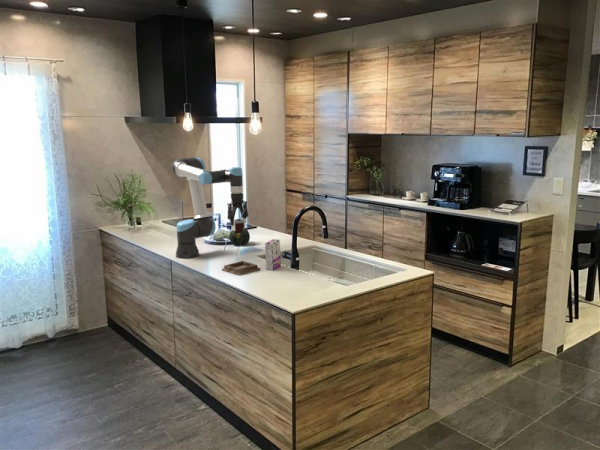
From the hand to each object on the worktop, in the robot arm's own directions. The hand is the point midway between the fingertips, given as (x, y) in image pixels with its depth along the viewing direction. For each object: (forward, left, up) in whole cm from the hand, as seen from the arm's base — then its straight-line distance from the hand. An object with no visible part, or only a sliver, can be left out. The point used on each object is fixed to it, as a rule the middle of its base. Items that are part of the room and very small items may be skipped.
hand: (238, 229), depth 320 cm
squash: (-40, +31, -21) cm, 55 cm away
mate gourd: (0, 0, -2) cm, 2 cm away
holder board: (+15, -11, -21) cm, 28 cm away
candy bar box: (+26, +5, -21) cm, 34 cm away
